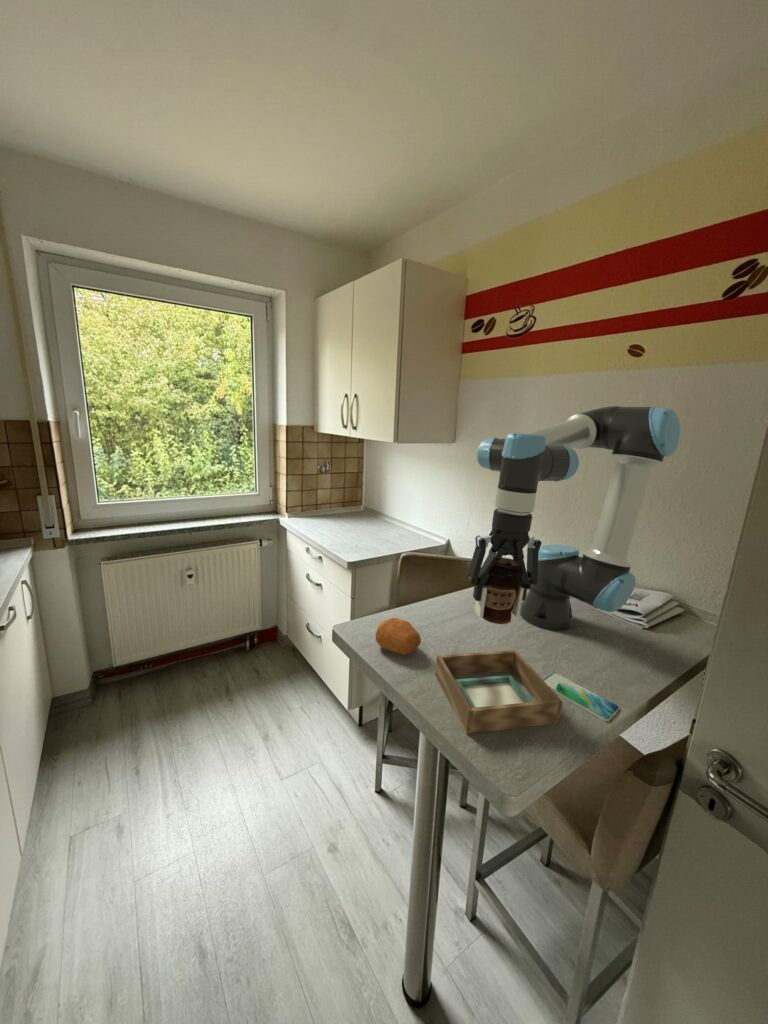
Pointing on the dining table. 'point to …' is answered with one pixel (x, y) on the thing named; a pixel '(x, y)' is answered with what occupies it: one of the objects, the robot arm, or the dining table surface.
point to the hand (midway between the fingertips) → (496, 613)
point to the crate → (496, 692)
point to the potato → (398, 636)
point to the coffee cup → (502, 591)
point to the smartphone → (582, 697)
